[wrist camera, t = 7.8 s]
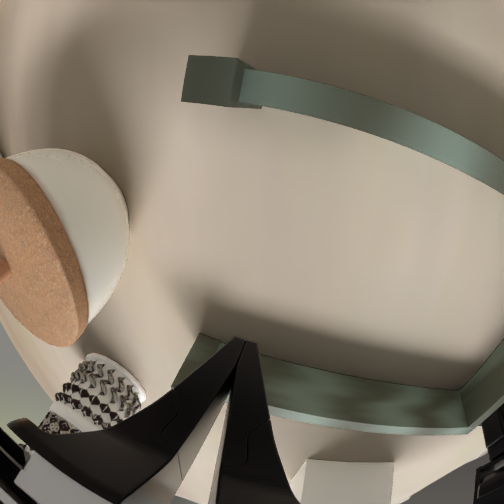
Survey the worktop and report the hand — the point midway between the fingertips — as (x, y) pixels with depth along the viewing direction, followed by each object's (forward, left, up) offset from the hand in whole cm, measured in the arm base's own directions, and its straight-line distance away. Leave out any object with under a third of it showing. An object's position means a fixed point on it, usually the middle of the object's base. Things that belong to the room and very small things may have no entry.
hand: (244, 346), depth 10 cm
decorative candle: (+14, +21, -7) cm, 26 cm away
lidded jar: (+12, 0, -7) cm, 14 cm away
